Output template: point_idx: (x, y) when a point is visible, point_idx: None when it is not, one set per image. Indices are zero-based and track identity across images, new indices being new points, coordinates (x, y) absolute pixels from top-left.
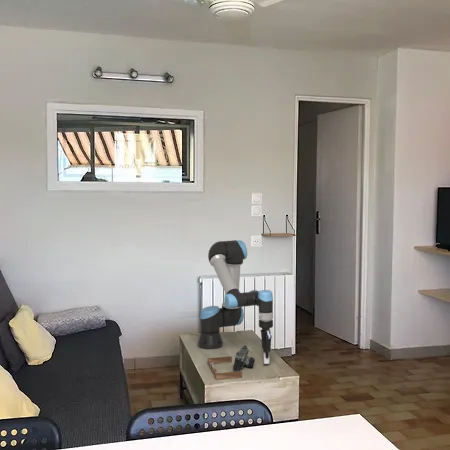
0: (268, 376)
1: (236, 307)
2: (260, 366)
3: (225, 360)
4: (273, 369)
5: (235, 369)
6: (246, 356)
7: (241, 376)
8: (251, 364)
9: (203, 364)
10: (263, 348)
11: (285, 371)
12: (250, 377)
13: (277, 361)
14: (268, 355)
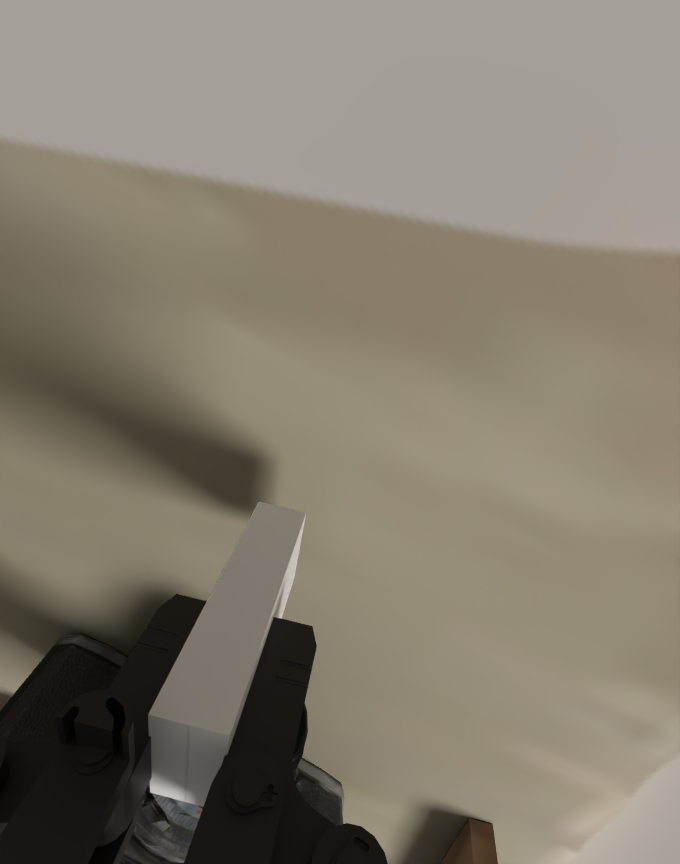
0: (657, 662)
1: None
2: None
3: None
4: (456, 485)
5: None
6: (182, 854)
7: (493, 843)
8: (298, 738)
9: None
10: (92, 861)
11: (676, 367)
12: (538, 783)
13: (103, 216)
14: (308, 682)
